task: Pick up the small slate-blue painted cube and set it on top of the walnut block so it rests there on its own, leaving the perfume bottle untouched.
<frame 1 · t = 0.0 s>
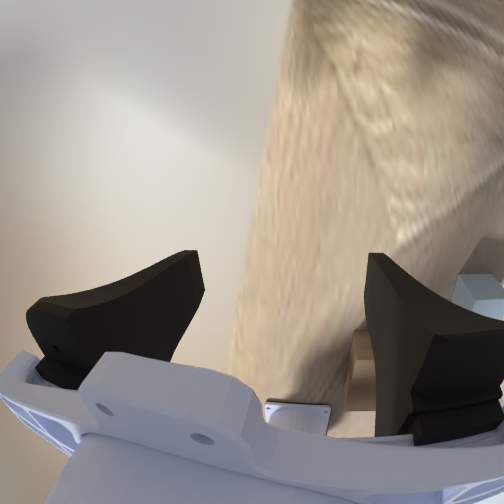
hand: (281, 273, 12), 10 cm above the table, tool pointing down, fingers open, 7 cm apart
walnut block: (386, 357, 26), on the table
slate-blue cube: (469, 292, 21), on the table
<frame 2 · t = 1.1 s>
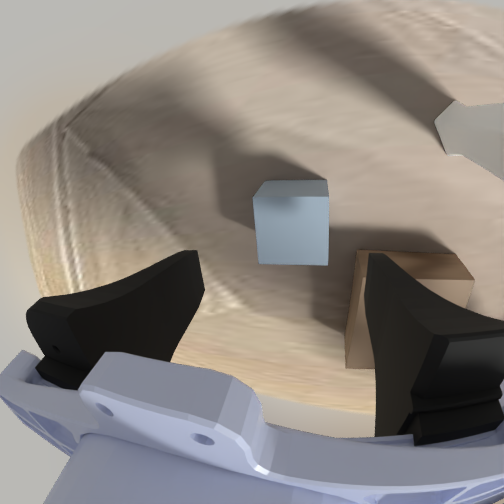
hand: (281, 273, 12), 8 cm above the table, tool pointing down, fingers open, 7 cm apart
perfume bottle: (460, 129, 14), on the table
walnut block: (399, 296, 21), on the table
slate-blue cube: (297, 208, 19), on the table
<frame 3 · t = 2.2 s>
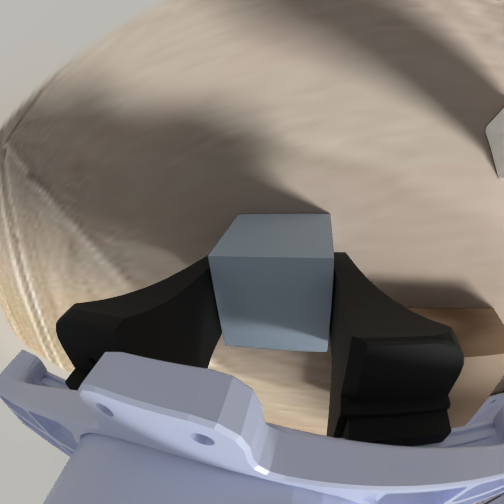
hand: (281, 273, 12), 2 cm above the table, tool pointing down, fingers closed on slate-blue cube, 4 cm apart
walnut block: (416, 357, 15), on the table
slate-blue cube: (285, 255, 13), on the table, touching gripper
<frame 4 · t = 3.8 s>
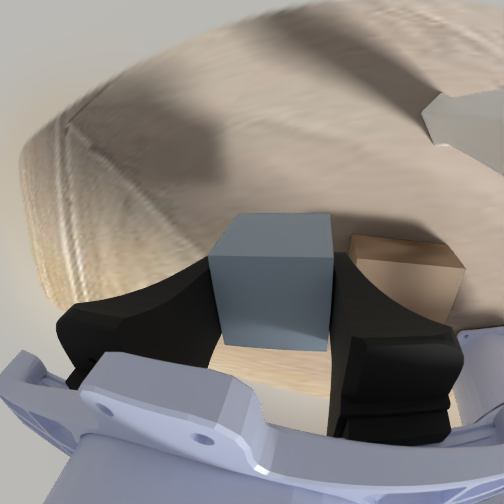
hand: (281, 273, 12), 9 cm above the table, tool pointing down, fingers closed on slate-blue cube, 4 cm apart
perfume bottle: (447, 120, 15), on the table
walnut block: (391, 283, 22), on the table
slate-blue cube: (285, 254, 13), point 8 cm above the table, touching gripper
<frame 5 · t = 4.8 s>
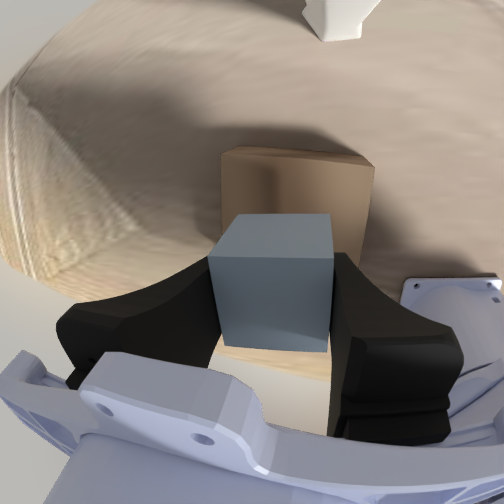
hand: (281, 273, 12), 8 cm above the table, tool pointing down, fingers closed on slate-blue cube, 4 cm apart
perfume bottle: (337, 16, 13), on the table
walnut block: (297, 208, 20), on the table
slate-blue cube: (285, 255, 13), point 7 cm above the table, touching gripper
when the fingers open (7 cm above the table, at t = 5.4 s): slate-blue cube drops 1 cm, resting on walnut block.
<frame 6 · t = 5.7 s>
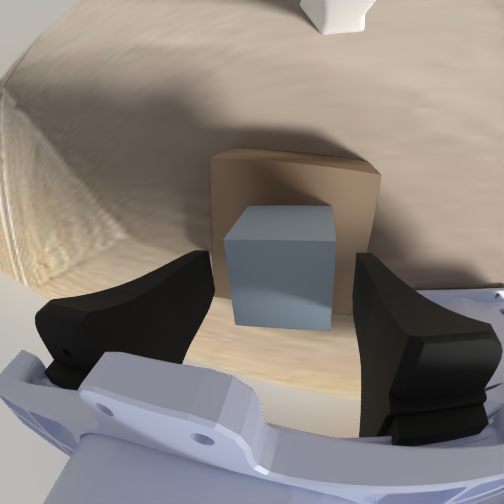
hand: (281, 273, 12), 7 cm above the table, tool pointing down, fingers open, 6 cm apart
perfume bottle: (337, 8, 12), on the table
walnut block: (294, 215, 18), on the table, touching slate-blue cube
slate-blue cube: (290, 244, 15), point 4 cm above the table, touching walnut block
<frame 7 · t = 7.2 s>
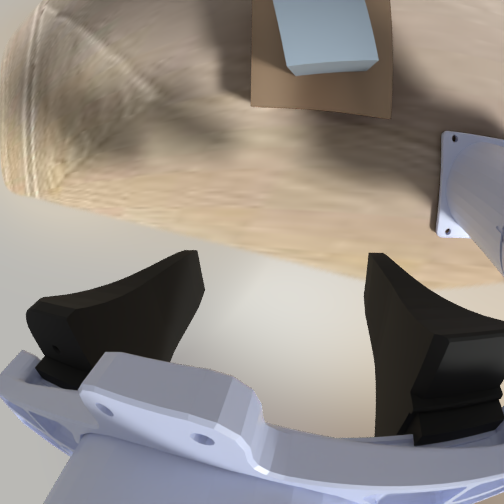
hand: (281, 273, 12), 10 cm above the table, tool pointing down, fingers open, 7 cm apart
walnut block: (323, 56, 16), on the table
slate-blue cube: (325, 40, 13), point 4 cm above the table
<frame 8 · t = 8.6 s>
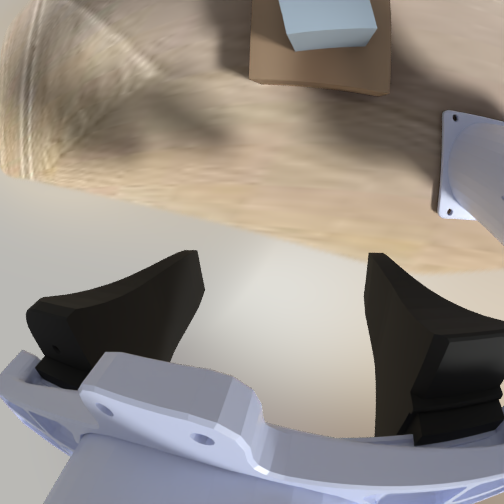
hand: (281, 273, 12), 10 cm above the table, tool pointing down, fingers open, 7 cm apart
walnut block: (322, 36, 16), on the table
slate-blue cube: (323, 17, 12), point 4 cm above the table
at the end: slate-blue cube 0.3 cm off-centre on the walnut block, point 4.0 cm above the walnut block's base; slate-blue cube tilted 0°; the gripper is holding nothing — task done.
